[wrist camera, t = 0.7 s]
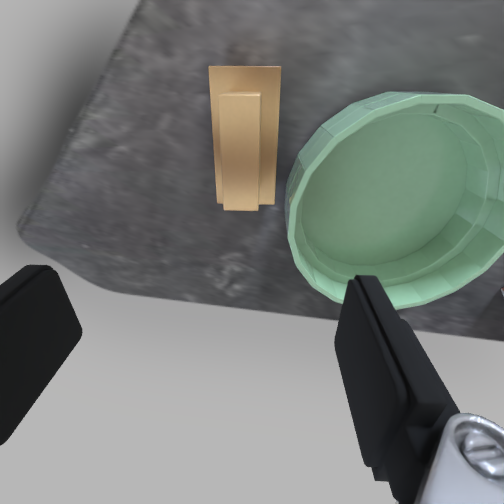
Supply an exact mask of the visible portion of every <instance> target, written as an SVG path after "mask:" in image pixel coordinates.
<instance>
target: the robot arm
mask: <svg viewBox="0 0 504 504" xmlns="http://www.w3.org/2000/svg"><path fill="white" fill-rule="evenodd" d="M81 336H82V327H81V325H80V323H79V321H78V318H77V316H76V314H75V311H74V309H73V307H72V305H71V302H70V300H69V298H68V295H67V293H66V291H65V289H64V287H63V284H62V282H61V280H60V277H59V275H58V273H57V272H56V271H55V270H53V268H51V267H50V266H48V265H27V266H25V267H23V268H22V269H21V270H19V271H18V272H17V273H15V274H14V275H13V276H12V277H10V278H9V279H8V280H6V281H5V282H4V283H2V284H1V285H0V445H2V444H4V443H5V442H6V441H7V440H8V439H9V437H10V436H11V435H12V433H13V432H14V430H15V429H16V427H17V426H18V425H19V423H20V422H21V421H22V419H23V418H24V417H25V415H26V414H27V412H28V411H29V410H30V408H31V407H32V405H33V404H34V403H35V401H36V400H37V399H38V397H39V396H40V394H41V393H42V391H43V390H44V389H45V387H46V386H47V385H48V383H49V382H50V380H51V379H52V378H53V376H54V375H55V374H56V372H57V371H58V369H59V368H60V367H61V365H62V364H63V362H64V361H65V360H66V358H67V357H68V355H69V354H70V353H71V351H72V350H73V349H74V347H75V346H76V344H77V343H78V342H79V340H80V339H81ZM334 343H335V351H336V355H337V359H338V363H339V367H340V371H341V375H342V379H343V383H344V387H345V391H346V395H347V399H348V403H349V407H350V411H351V415H352V418H353V422H354V426H355V431H356V434H357V438H358V442H359V446H360V450H361V454H362V458H363V461H364V464H365V465H366V466H367V467H371V468H372V472H373V475H374V479H375V481H387V482H389V485H390V488H391V491H392V495H393V497H394V498H395V499H396V500H397V501H396V504H504V429H503V428H502V427H500V426H499V425H497V424H496V423H494V422H492V421H490V420H488V419H486V418H484V417H482V416H479V415H474V414H471V413H460V411H459V409H458V407H457V406H456V404H455V402H454V401H453V399H452V397H451V396H450V394H449V392H448V390H447V389H446V387H445V385H444V383H443V382H442V380H441V378H440V377H439V375H438V373H437V371H436V370H435V368H434V366H433V365H432V363H431V362H430V359H429V358H428V356H427V354H426V352H425V351H424V349H423V348H422V346H421V344H420V342H419V341H418V339H417V337H416V335H415V334H414V332H413V330H412V328H411V327H410V325H409V324H408V323H407V321H405V320H404V319H400V317H399V315H398V313H397V312H396V310H395V308H394V306H393V304H392V303H391V301H390V299H389V297H388V295H387V294H386V292H385V290H384V288H383V287H382V285H381V283H380V281H379V279H378V278H377V276H375V275H356V276H355V277H354V279H349V281H348V283H347V288H346V292H345V296H344V301H343V305H342V309H341V314H340V318H339V322H338V327H337V331H336V335H335V342H334Z"/></svg>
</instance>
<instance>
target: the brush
mask: <svg viewBox="0 0 504 504" xmlns="http://www.w3.org/2000/svg"><path fill="white" fill-rule="evenodd" d="M208 69H209V84H210V100H211V115H212V131H213V146H214V162H215V177H216V193H217V203H223V208H224V210H238V211H258V207H259V204H270V205H274V204H275V185H276V165H277V144H278V124H279V104H280V83H281V66H209V67H208Z"/></svg>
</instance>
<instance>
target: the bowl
mask: <svg viewBox="0 0 504 504" xmlns="http://www.w3.org/2000/svg"><path fill="white" fill-rule="evenodd" d="M284 214H285V221H286V229H287V236H288V241H289V245H290V248H291V252H292V255H293V258H294V262H295V265H296V267H297V268H298V269H299V271H300V272H301V273H302V275H303V276H304V277H305V279H306V280H307V281H308V282H309V284H310V285H311V286H312V287H313V288H314V289H316V290H317V291H319V292H321V293H322V294H324V295H325V296H327V297H328V298H330V299H331V300H333V301H335V302H338V303H341V304H343V301H344V296H345V292H346V288H347V283H348V281H349V279H354V277H355V276H356V275H375V276H377V278H378V279H379V281H380V283H381V285H382V287H383V288H384V290H385V292H386V294H387V295H388V297H389V299H390V301H391V303H392V304H393V306H394V308H395V310H397V309H402V308H408V307H413V306H418V305H423V304H426V303H428V302H431V301H433V300H436V299H438V298H441V297H443V296H446V295H448V294H450V293H453V292H455V291H457V290H458V289H460V288H461V287H463V286H464V285H466V284H467V283H469V282H470V281H472V280H473V279H475V278H476V277H478V276H479V275H481V274H482V273H484V272H485V271H486V270H487V269H488V268H489V267H490V266H491V265H492V264H493V263H494V262H495V261H496V260H497V259H498V258H499V257H500V256H501V255H502V254H503V253H504V110H503V109H500V108H498V107H496V106H493V105H491V104H488V103H486V102H484V101H481V100H479V99H477V98H474V97H472V96H470V95H464V94H449V93H435V92H385V93H382V94H379V95H376V96H373V97H370V98H367V99H364V100H361V101H358V102H355V103H352V104H350V105H349V106H348V107H346V108H345V109H343V110H342V111H340V112H339V113H338V114H336V115H335V116H333V117H332V118H331V119H329V120H328V121H326V122H325V123H323V124H322V125H321V126H320V127H319V128H318V129H317V131H316V132H315V133H314V134H313V136H312V137H311V138H310V139H309V141H308V142H307V143H306V144H305V146H304V147H303V148H302V149H301V151H300V152H299V153H298V155H297V157H296V160H295V162H294V165H293V167H292V170H291V172H290V175H289V177H288V180H287V182H286V191H285V205H284Z"/></svg>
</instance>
